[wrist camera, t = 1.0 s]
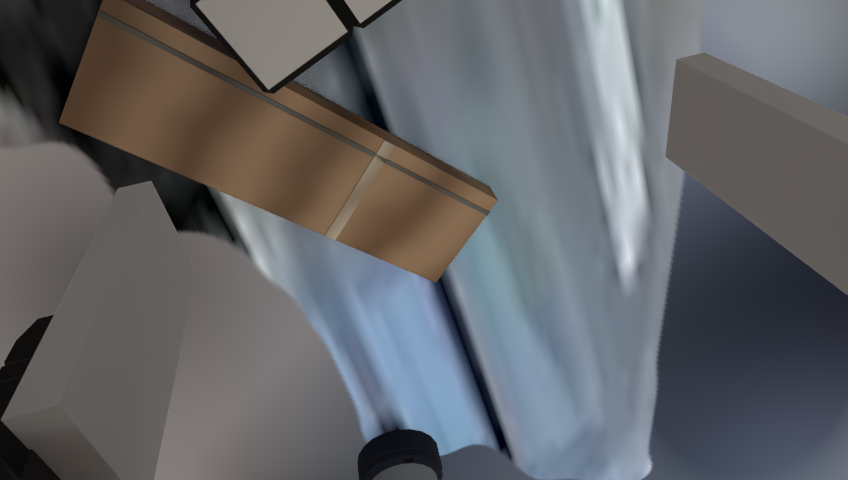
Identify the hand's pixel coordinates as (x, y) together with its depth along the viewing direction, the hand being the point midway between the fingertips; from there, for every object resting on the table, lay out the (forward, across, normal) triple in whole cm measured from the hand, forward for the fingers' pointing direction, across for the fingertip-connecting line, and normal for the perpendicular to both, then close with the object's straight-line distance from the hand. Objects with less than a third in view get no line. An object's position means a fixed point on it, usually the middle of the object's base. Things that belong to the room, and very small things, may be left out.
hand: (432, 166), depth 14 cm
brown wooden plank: (+22, -5, -9) cm, 25 cm away
